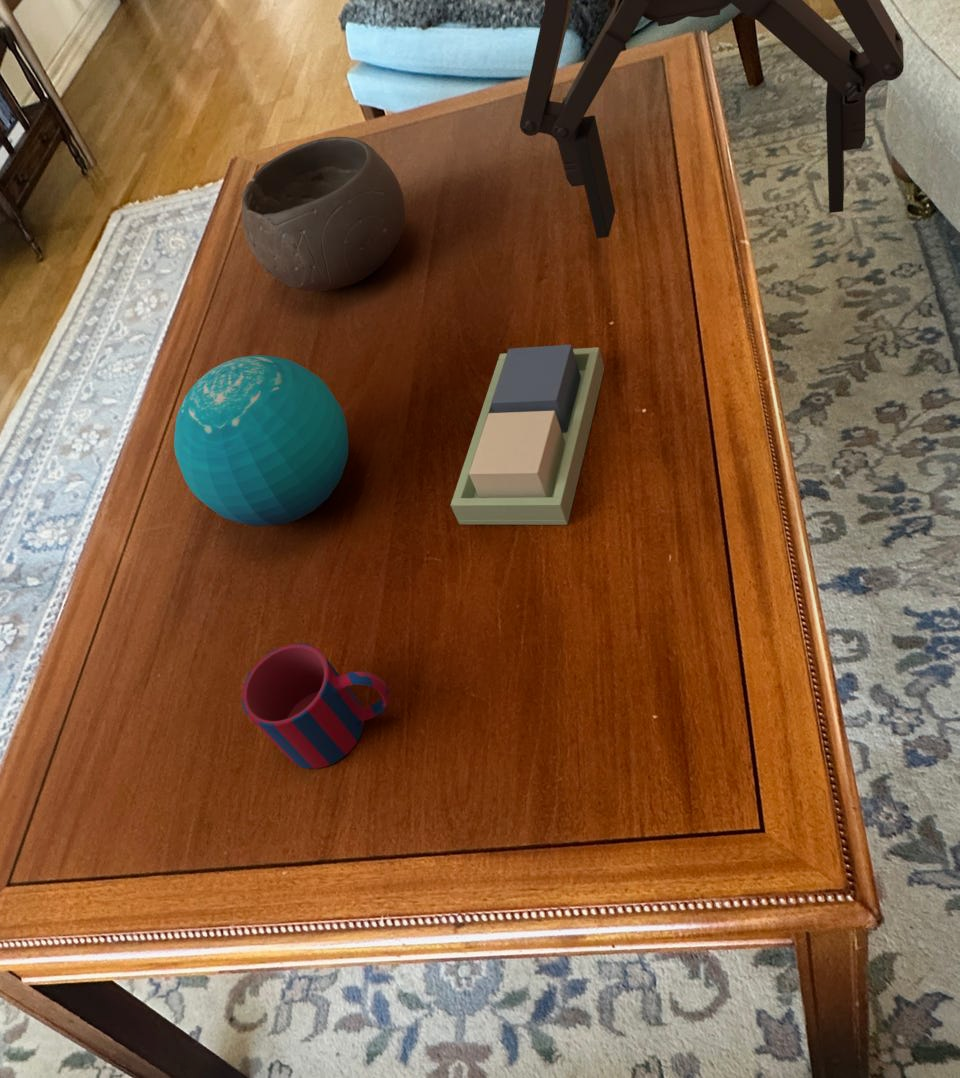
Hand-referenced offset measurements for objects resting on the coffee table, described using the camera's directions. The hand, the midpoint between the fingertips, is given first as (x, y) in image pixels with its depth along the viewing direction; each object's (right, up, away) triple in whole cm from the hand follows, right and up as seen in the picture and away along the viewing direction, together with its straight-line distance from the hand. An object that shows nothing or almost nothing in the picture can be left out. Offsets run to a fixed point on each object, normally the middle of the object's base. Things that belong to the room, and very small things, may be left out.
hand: (716, 212), depth 59 cm
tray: (-9, -11, +28) cm, 32 cm away
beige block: (-10, -14, +25) cm, 31 cm away
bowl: (-29, +12, +55) cm, 64 cm away
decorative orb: (-31, -16, +33) cm, 48 cm away
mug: (-24, -34, +15) cm, 44 cm away
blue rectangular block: (-9, -8, +30) cm, 32 cm away
